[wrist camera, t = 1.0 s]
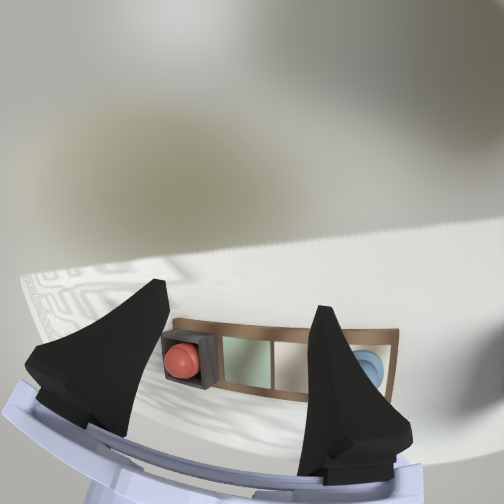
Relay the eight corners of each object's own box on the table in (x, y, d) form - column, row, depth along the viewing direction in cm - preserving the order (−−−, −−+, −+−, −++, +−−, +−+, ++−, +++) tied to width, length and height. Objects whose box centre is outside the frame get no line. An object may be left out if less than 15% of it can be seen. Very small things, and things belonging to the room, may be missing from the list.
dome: (203, 343, 29) (182, 353, 25) (206, 376, 29) (186, 388, 25) (176, 338, 30) (154, 346, 27) (179, 369, 30) (158, 379, 27)
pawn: (359, 400, 23) (351, 440, 16) (327, 372, 24) (310, 407, 18) (393, 369, 21) (397, 405, 15) (360, 340, 23) (354, 369, 17)
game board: (398, 328, 23) (402, 340, 19) (389, 401, 22) (390, 421, 19) (177, 317, 33) (155, 323, 30) (183, 375, 33) (163, 385, 29)
